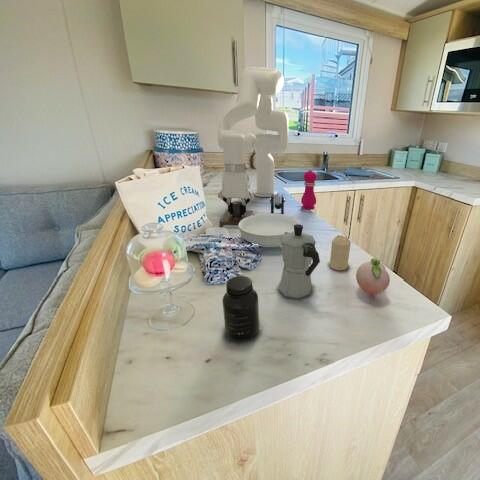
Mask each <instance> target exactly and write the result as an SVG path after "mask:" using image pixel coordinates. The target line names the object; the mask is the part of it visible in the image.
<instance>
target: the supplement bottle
mask: <svg viewBox="0 0 480 480" xmlns="http://www.w3.org/2000/svg"><path fill="white" fill-rule="evenodd" d="M225 286H226V292H225V293H224V294H223V297H222V310H223V311H222V312H223V317H224V318H223V319H224V320H223V321H224V329H225V334H226V335H227V337H228V338H230V339H231V340H233V341H237V342H243V341H247V340H250V339H251V338H253V337H255V336H256V334H257V333H258V332H259V329H260V310H259V309H260V308H259V294H258V292H257V291H256V290H255V289H254V285H253V280H252V279H251V278H250V277H249V276H246V275H237V276H234V277H231V278H229V279H228V280H227V281H226V285H225Z"/></svg>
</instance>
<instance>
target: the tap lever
mask: <svg viewBox="0 0 480 480" xmlns="http://www.w3.org/2000/svg"><path fill="white" fill-rule="evenodd" d="M274 209H276V210H281V196H278V195H276V196H274Z"/></svg>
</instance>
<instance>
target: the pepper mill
mask: <svg viewBox="0 0 480 480" xmlns="http://www.w3.org/2000/svg"><path fill="white" fill-rule="evenodd" d="M317 179H318V175H317V173H316V172H315V171H313V168H312V167H309V168H308V170H307V171H305V172H304V174H303V180H304V183H303V185H304V192H303V194H302V196H301V199H300V203H301V204H302V205H301V208H302V209H303V210H307V211H312V210H315V209H316V207H315V205H316V204H317V197H316V195H315V186H316V181H317Z"/></svg>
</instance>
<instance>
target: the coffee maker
mask: <svg viewBox="0 0 480 480" xmlns="http://www.w3.org/2000/svg"><path fill="white" fill-rule="evenodd" d="M303 231H304V225H303V224H301V223H300V224H296V225H294V232H295V233H288V232H284V235H283V236H281V237H280V239H281V246H280V247H281V252H282V253H281V254H282V261H283V268H282V273H281V279H280V283H279V288H278V290H279V292H280V293H281V294H282V295H283V297H285V298H291V299H298V300H299V299H301V298H304V297H307V296H309V295H311V291H312V286H313V285H312V278H311V275H312V273H313V272H314V271H315V269H316V268H317V266H318V265H319V264H320V262H321V260H320V254H319V252H318V250H317V247H316V240H315V238H314V236H313V235H312V234H308V233H305V232H303Z"/></svg>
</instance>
